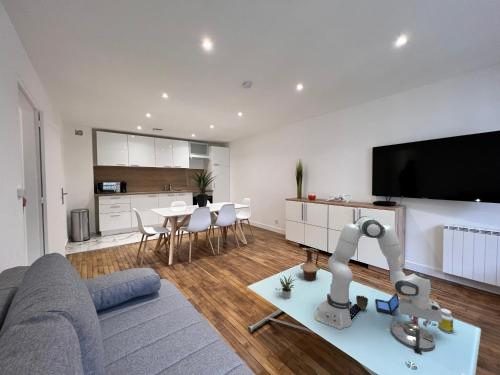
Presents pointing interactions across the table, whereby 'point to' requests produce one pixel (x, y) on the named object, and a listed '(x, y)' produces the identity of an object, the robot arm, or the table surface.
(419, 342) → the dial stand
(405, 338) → the turntable
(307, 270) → the pitcher
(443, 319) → the pill bottle
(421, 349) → the turntable base
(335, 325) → the robot arm
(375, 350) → the table surface
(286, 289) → the house plant
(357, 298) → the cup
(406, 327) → the cover
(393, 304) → the handheld game console
